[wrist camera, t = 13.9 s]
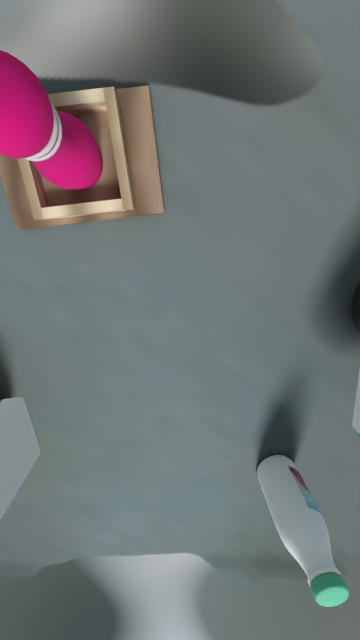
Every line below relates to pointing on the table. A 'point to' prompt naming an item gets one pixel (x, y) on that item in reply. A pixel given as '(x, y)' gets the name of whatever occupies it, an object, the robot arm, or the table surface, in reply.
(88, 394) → the table surface
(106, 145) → the holder board
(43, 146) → the pepper mill
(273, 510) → the milk bottle
